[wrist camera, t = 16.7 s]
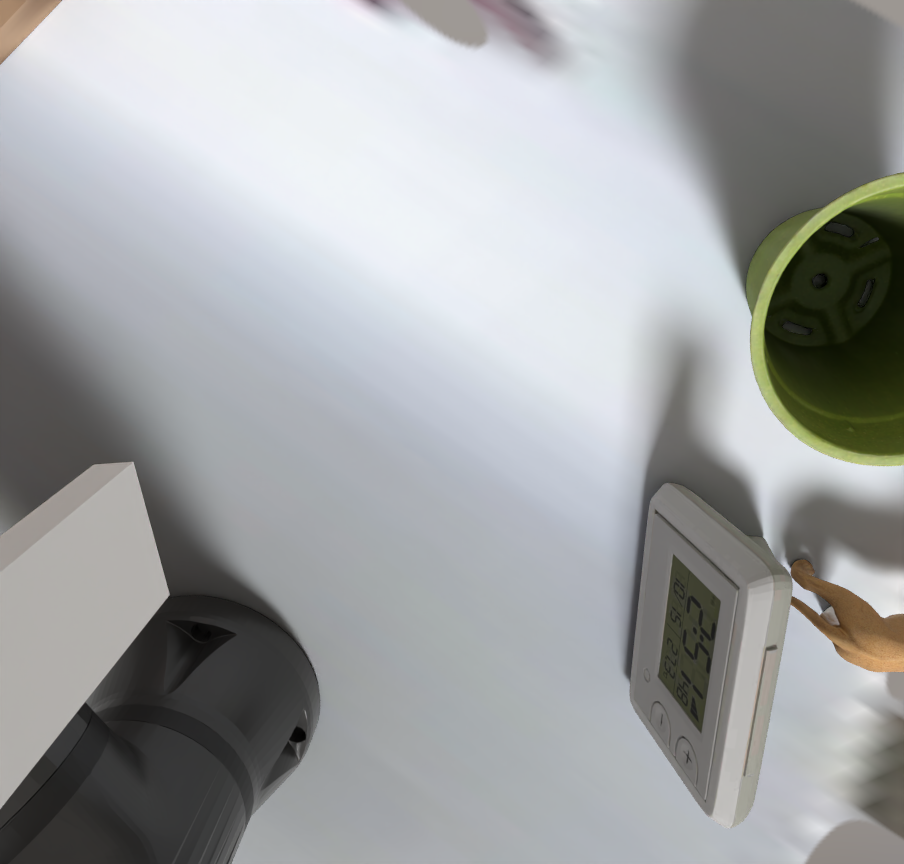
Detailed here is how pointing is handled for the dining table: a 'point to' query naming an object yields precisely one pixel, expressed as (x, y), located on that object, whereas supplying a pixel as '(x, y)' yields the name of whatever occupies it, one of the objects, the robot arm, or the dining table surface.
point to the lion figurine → (852, 624)
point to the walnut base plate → (20, 21)
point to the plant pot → (835, 325)
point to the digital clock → (708, 648)
